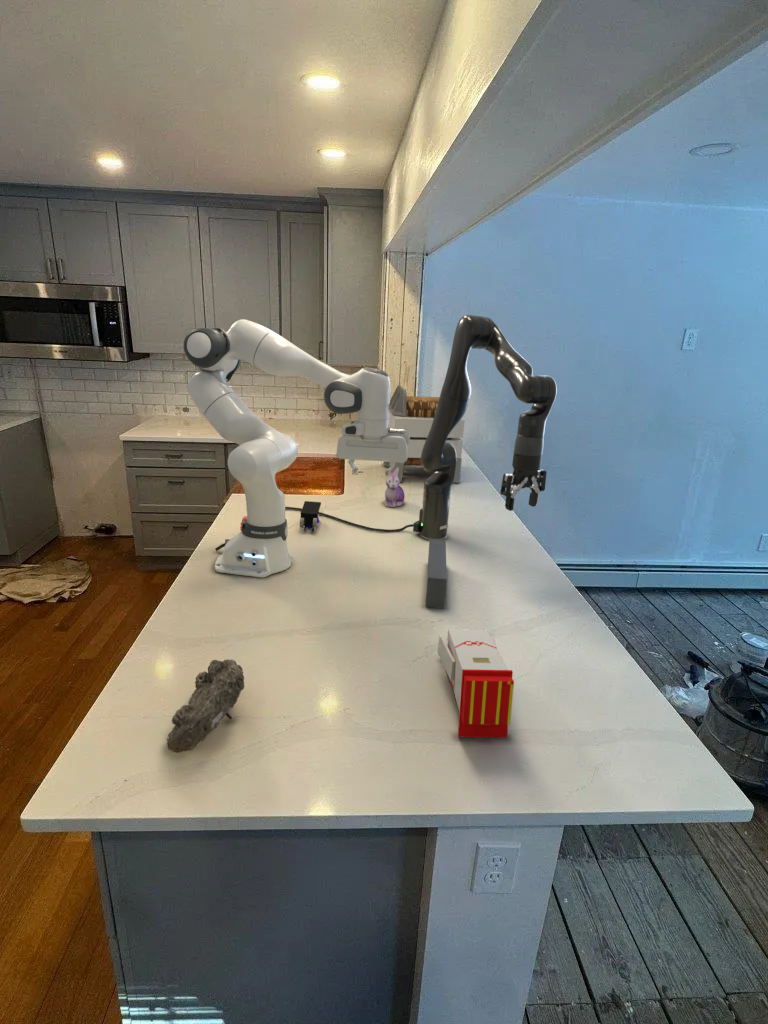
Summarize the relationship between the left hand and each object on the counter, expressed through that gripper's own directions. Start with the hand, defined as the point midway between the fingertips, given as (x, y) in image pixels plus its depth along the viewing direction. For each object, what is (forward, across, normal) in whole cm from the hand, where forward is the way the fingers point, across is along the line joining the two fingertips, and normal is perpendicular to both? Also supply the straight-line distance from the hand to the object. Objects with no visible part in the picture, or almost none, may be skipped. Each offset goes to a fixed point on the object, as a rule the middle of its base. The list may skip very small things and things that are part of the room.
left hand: (371, 475), depth 163 cm
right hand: (+6, -43, +4) cm, 43 cm away
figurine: (+29, -4, -61) cm, 68 cm away
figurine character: (+29, +24, -30) cm, 48 cm away
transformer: (+29, -13, -109) cm, 114 cm away
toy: (+29, -28, +56) cm, 69 cm away
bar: (+29, -20, +8) cm, 37 cm away
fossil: (+29, +22, +71) cm, 80 cm away
